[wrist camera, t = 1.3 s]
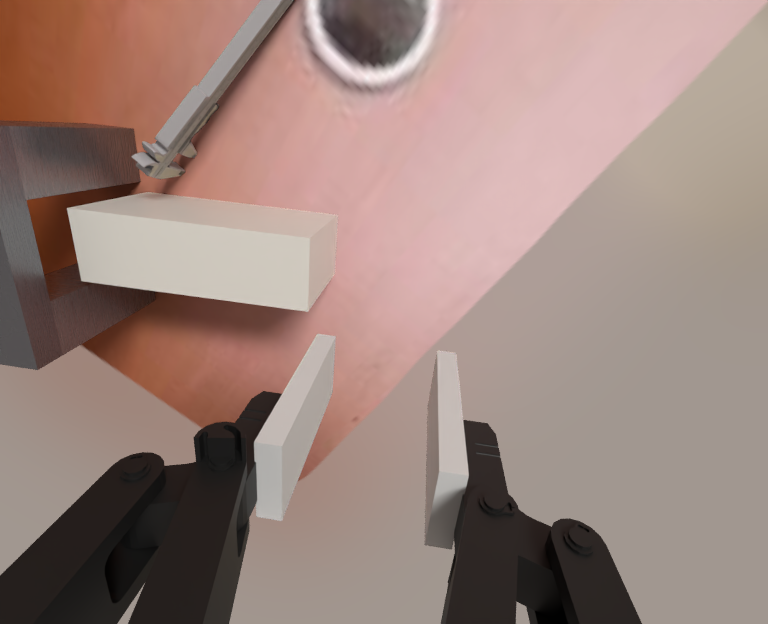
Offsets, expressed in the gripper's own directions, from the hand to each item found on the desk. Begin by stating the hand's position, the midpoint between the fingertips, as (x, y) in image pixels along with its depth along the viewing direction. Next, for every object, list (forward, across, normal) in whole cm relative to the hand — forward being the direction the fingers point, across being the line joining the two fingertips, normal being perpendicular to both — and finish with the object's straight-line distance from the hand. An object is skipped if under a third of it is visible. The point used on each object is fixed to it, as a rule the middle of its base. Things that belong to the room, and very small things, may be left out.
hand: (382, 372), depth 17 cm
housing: (+19, -24, 0) cm, 31 cm away
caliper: (+19, -13, +13) cm, 26 cm away
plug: (+19, -14, 0) cm, 23 cm away
